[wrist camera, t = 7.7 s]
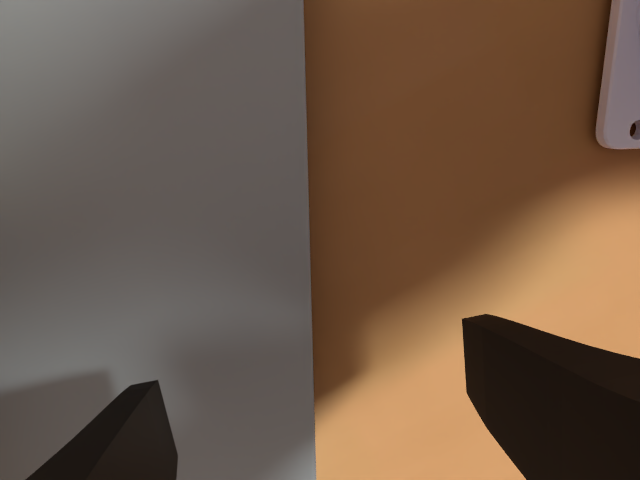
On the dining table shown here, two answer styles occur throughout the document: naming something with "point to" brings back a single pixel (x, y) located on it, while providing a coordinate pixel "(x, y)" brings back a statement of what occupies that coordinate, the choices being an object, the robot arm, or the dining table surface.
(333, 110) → the dining table surface
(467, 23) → the dining table surface
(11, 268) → the board
